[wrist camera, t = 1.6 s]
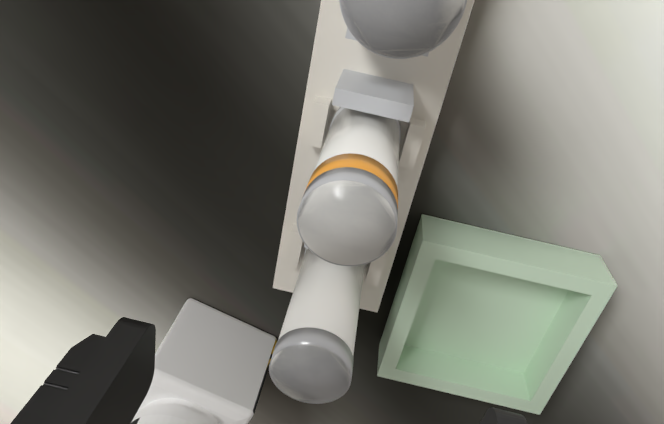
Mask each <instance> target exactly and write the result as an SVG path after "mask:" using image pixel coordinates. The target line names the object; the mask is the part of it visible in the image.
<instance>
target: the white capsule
mask: <svg viewBox="0 0 664 424" xmlns="http://www.w3.org/2000/svg"><path fill="white" fill-rule="evenodd" d="M339 3H340V9H341V13H342V16H343V19H344V21H345V24H346V25H347V27H348V29H349V31H350V32H351V34H352V35H353V36H354V38H355V39H356V40H357V41H358V42H359V43H360V44H361V45H363V46H364V47H365V48H367V49H368V50H370V51H371V52H373V53H375V54H378V55H380V56H383V57H387V58H393V59H408V58H413V57H418V56H421V55H423V54H426V53H428V52H430V51H432V50H433V49H435V48H436V47H438V46H439V45H441V44H442V43H443V42H444V41H445V40H446V39H447V38H448V37H449V36H450V35H451V34H452V32H453V31H454V30H455V28H456V27H457V25H458V24H459V22H460V20H461V18H462V15H463V13H464V10H465V7H466V3H467V0H339Z"/></svg>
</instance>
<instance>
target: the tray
mask: <svg viewBox="0 0 664 424" xmlns="http://www.w3.org/2000/svg"><path fill="white" fill-rule="evenodd" d="M616 288H617V284H616V282H615V280H614V279H613V277H612V275H611V273H610V272H609V270H608V268H607V266H606V265H605V263H604V261H603V260H602V258H601V256H600V255H596V254H592V253H587V252H583V251H579V250H575V249H570V248H566V247H562V246H557V245H553V244H549V243H544V242H540V241H536V240H532V239H527V238H523V237H519V236H514V235H510V234H506V233H501V232H497V231H493V230H488V229H484V228H480V227H476V226H471V225H467V224H463V223H458V222H454V221H450V220H445V219H441V218H437V217H433V216H428V215H424V214H422V215H421V218H420V221H419V224H418V227H417V230H416V233H415V236H414V239H413V242H412V245H411V248H410V251H409V254H408V258H407V261H406V264H405V267H404V270H403V273H402V276H401V279H400V282H399V285H398V288H397V291H396V294H395V297H394V300H393V303H392V306H391V309H390V313H389V316H388V319H387V322H386V325H385V328H384V331H383V334H382V337H381V340H380V343H379V354H378V369H377V376H379V377H383V378H387V379H392V380H396V381H400V382H404V383H408V384H413V385H417V386H421V387H425V388H429V389H434V390H438V391H442V392H446V393H450V394H455V395H459V396H463V397H467V398H471V399H476V400H480V401H484V402H488V403H492V404H497V405H501V406H505V407H509V408H513V409H518V410H522V411H526V412H530V413H534V414H539V415H540V414H541V412H542V410H543V409H544V407H545V405H546V404H547V402H548V400H549V399H550V397H551V395H552V394H553V392H554V390H555V389H556V387H557V386H558V384H559V382H560V381H561V379H562V377H563V376H564V374H565V372H566V371H567V369H568V367H569V366H570V364H571V362H572V361H573V359H574V357H575V356H576V354H577V352H578V351H579V349H580V347H581V346H582V344H583V342H584V341H585V339H586V337H587V336H588V334H589V332H590V331H591V329H592V327H593V326H594V324H595V322H596V321H597V319H598V318H599V316H600V314H601V313H602V311H603V309H604V308H605V306H606V304H607V303H608V301H609V299H610V298H611V296H612V294H613V293H614V291H615V289H616Z"/></svg>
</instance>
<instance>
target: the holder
mask: <svg viewBox="0 0 664 424" xmlns="http://www.w3.org/2000/svg"><path fill="white" fill-rule="evenodd" d="M474 1H475V0H467V3H466V7H465V10H464V13H463V15H462V18H461V20H460V22H459V24H458V25H457V27H456V28H455V30H454V31H453V32H452V34H451V35H450V36H449V37H448V38H447V39H446V40H445V41H444V42H443V43H442V44H441V45H439V46H438V47H436V48H435V49H433V50H432V51H430V52H428V53H426V54H423V55H421V56H418V57H413V58H408V59H393V58H387V57H383V56H380V55H378V54H375V53H373V52H371V51H370V50H368V49H367V48H365V47H364V46H363V45H361V44H360V43H359V42H358V41H357V40H356V39H355V38H354V36H353V35H352V34H351V32H350V31H349V29H348V27H347V25H346V24H345V21H344V19H343V16H342V13H341V9H340V3H339V0H321V5H320V11H319V17H318V23H317V29H316V35H315V41H314V47H313V53H312V58H311V64H310V70H309V76H308V82H307V88H306V94H305V100H304V106H303V112H302V117H301V123H300V129H299V135H298V141H297V147H296V153H295V159H294V165H293V171H292V177H291V182H290V188H289V194H288V200H287V206H286V212H285V218H284V224H283V230H282V236H281V241H280V247H279V253H278V259H277V265H276V271H275V277H274V283H273V288H275V289H279V290H284V291H288V292H292V293H293V291H294V288H295V284H296V281H297V278H298V275H299V272H300V268H301V265H302V262H303V259H304V253H305V249H306V248H307V246H306V245H305V244H304V242H303V241H302V239H301V237H300V235H299V232H298V228H297V212H298V208H299V205H300V203H301V200H302V198H303V195H304V192H305V190H306V187H307V185H308V182H309V179H310V177H311V175H312V173H313V172H314V170H315V167H316V164H317V162H318V159H319V156H320V154H321V151H322V148H323V146H324V143H325V141H326V138H327V135H328V133H329V129H330V125H331V122H332V119H333V117H334V115H335V113H336V111H337V109H338V108H339V107H343V108H348V109H352V110H357V111H361V112H365V113H370V114H374V115H378V116H383V117H387V118H391V119H396V120H400V125H401V136H400V144H399V161H398V186H397V189H398V220H397V233H396V237H395V239H394V242H393V243H392V245H391V247H390V248H389V249H388V251H387V252H386V253H385V254H384V255H382V256H381V257H380V258H378V259H376V260H375V261H373V262H370V263H368V264H366V265H365V269H364V275H363V283H362V291H361V299H360V307H359V308H360V309H364V310H368V311H373V312H377V313H378V309H379V306H380V303H381V300H382V297H383V293H384V290H385V287H386V284H387V281H388V277H389V274H390V271H391V268H392V264H393V261H394V258H395V255H396V252H397V248H398V245H399V242H400V239H401V236H402V232H403V229H404V226H405V223H406V219H407V216H408V213H409V210H410V207H411V203H412V200H413V197H414V194H415V191H416V187H417V184H418V181H419V178H420V175H421V171H422V168H423V165H424V162H425V158H426V155H427V152H428V149H429V146H430V142H431V139H432V136H433V133H434V130H435V126H436V123H437V120H438V117H439V114H440V110H441V107H442V104H443V101H444V97H445V94H446V91H447V88H448V85H449V81H450V78H451V75H452V72H453V69H454V65H455V62H456V59H457V56H458V53H459V49H460V46H461V43H462V40H463V36H464V33H465V30H466V27H467V24H468V20H469V17H470V14H471V11H472V8H473V4H474Z"/></svg>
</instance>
